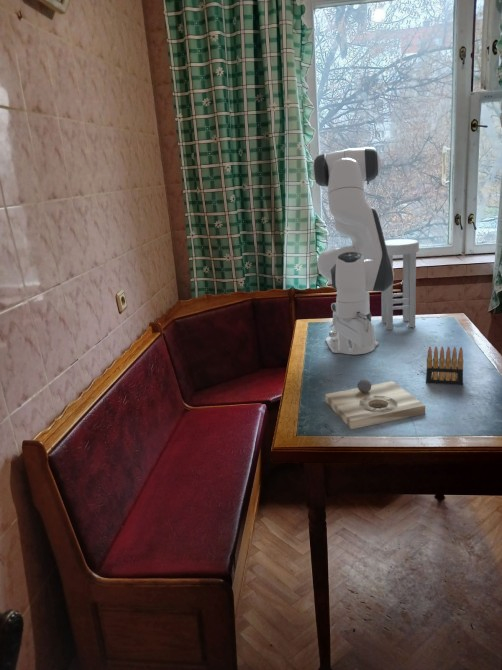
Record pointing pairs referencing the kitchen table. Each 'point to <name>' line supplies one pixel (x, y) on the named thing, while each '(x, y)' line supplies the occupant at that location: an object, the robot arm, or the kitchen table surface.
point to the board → (374, 405)
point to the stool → (409, 282)
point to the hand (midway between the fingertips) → (353, 353)
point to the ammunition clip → (445, 367)
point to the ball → (364, 385)
